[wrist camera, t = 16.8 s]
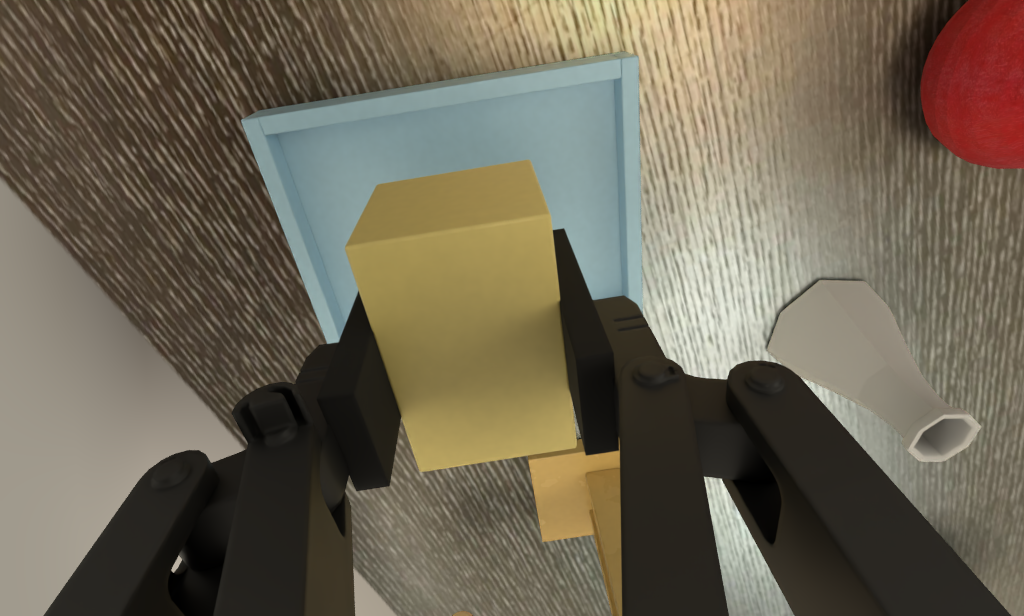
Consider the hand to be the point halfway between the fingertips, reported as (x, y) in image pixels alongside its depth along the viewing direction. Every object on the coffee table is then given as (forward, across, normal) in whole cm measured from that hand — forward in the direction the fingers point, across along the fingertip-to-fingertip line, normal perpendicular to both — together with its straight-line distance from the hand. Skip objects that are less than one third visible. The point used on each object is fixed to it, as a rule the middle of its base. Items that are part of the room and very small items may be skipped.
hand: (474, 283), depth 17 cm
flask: (+13, +20, -13) cm, 27 cm away
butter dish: (+12, -1, -2) cm, 13 cm away
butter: (0, 0, 0) cm, 0 cm away
